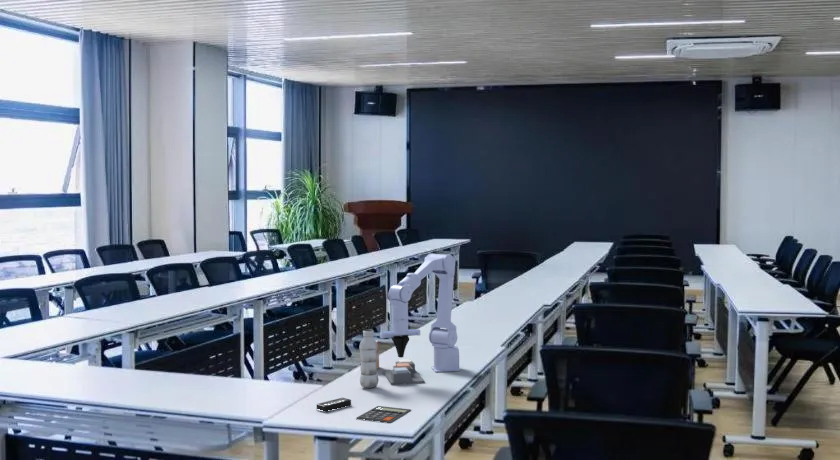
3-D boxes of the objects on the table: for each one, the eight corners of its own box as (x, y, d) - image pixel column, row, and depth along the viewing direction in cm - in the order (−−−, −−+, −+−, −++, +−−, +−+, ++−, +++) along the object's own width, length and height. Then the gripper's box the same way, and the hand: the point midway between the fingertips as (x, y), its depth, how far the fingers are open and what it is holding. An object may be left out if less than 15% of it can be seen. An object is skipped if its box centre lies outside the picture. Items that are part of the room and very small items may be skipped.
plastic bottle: (381, 386, 293) (380, 329, 292) (374, 390, 287) (373, 332, 286) (364, 384, 295) (363, 328, 294) (356, 389, 289) (355, 331, 288)
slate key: (405, 374, 301) (405, 367, 300) (408, 376, 296) (407, 369, 296) (393, 374, 300) (393, 367, 300) (395, 377, 295) (395, 370, 295)
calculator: (355, 417, 252) (377, 405, 266) (355, 420, 252) (377, 408, 266) (390, 421, 247) (411, 408, 261) (390, 424, 248) (411, 411, 261)
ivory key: (410, 365, 315) (409, 358, 315) (412, 368, 311) (412, 361, 311) (398, 366, 314) (398, 359, 314) (400, 368, 310) (400, 362, 310)
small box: (374, 371, 316) (374, 344, 315) (360, 371, 317) (359, 343, 316) (379, 367, 324) (379, 340, 323) (365, 366, 325) (365, 339, 324)
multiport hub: (316, 411, 263) (315, 403, 263) (342, 404, 271) (342, 397, 271) (325, 413, 260) (324, 406, 260) (351, 406, 268) (351, 399, 268)
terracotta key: (408, 369, 308) (407, 363, 308) (410, 372, 304) (410, 365, 303) (396, 370, 307) (396, 363, 307) (398, 373, 303) (398, 366, 303)
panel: (414, 370, 316) (414, 360, 316) (424, 383, 297) (424, 372, 296) (382, 372, 314) (382, 362, 314) (391, 385, 294) (391, 374, 294)
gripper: (415, 315, 303) (415, 353, 304) (377, 318, 298) (377, 356, 299) (422, 318, 297) (422, 356, 297) (383, 321, 291) (384, 360, 292)
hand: (400, 356), depth 298 cm, fingers closed
